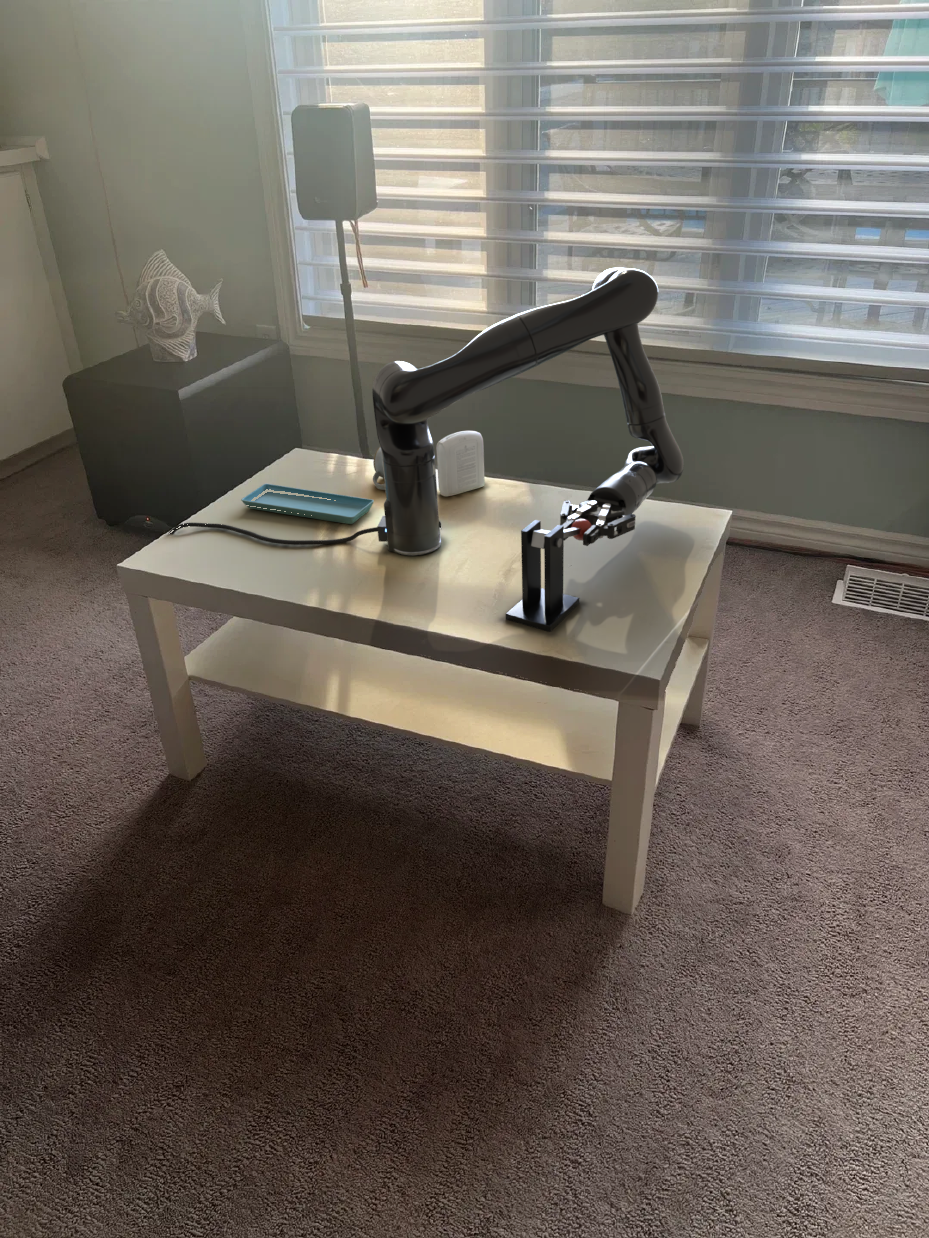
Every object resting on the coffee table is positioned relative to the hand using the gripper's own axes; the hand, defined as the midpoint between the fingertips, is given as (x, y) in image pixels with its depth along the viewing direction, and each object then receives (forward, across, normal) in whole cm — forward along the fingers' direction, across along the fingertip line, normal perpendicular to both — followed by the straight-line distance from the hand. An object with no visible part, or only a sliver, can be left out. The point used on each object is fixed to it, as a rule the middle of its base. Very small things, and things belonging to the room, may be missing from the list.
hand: (573, 537), depth 150 cm
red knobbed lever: (+4, 0, -1) cm, 4 cm away
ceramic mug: (-23, -54, +10) cm, 59 cm away
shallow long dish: (-3, -61, +9) cm, 62 cm away
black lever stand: (+11, 0, +8) cm, 14 cm away
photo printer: (-26, -39, +10) cm, 47 cm away
